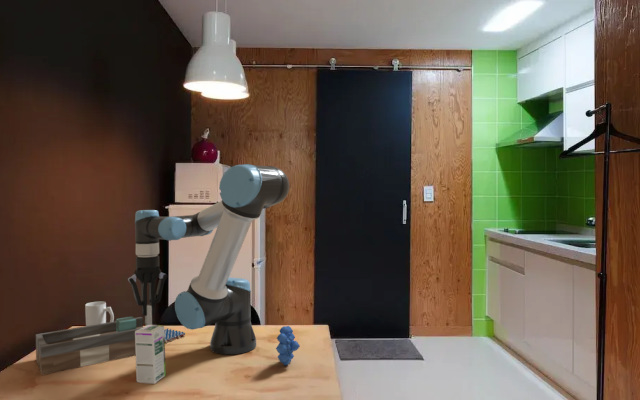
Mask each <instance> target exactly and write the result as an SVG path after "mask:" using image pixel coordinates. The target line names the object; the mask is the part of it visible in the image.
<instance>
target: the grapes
mask: <svg viewBox="0 0 640 400" xmlns="http://www.w3.org/2000/svg"><path fill="white" fill-rule="evenodd" d="M293 332H294V330H293V329H292V327H291V326H289V325H284V326H282V327H281V328H280V329H279V334H278V336H276V339H277V341H278V342H279V343H278V345H277V346H276V348H275V349H276V351H277V353H278V356H277V359H278V360H279V362H280V363H281V364H282V365H284V366H288V365H289V364H290V363H291V362H292V360H293V359H294V357H295V355H294V352H295V351H298V350H299V348H300V346H301V345H300V344H299V342H298V341H297V340H295V338H296V336H295V334H294V333H293Z"/></svg>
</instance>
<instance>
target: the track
mask: <svg viewBox="0 0 640 400" xmlns="http://www.w3.org/2000/svg"><path fill="white" fill-rule="evenodd" d="M134 318H135V319H136V329H132V330H126V331H121V332H117V331H116V320H114V321H113V322H110V321H109V322H108V321H107V322H106V323H102V324H96V325H90V326H86V325H85V326H79V327H73V328H67V329H66V328H65V329H60V330H55V331H49V332H44V333H42V332H41V333H37V334H35V359H36V363H37V366H38V369H39V372H40V374H41V376H43V375H49V374H53V373H57V372H63V371H67V370H72V369H73V370H74V369H77V368H81V367H85V366H91V365H96V364H101V363H106V362H110V361H114V360H119V359H124V358H129V357H133V356H136V350H135V331H136V330H139V329H141V328H143V327H144V317H142V316H139V317H134Z"/></svg>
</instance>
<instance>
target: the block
mask: <svg viewBox="0 0 640 400" xmlns="http://www.w3.org/2000/svg"><path fill="white" fill-rule="evenodd" d="M135 318H136V317H133V316H126V317H121V318H116V319H115V321H116V331H117V332H121V331H126V330H132V329H136V319H135Z"/></svg>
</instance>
